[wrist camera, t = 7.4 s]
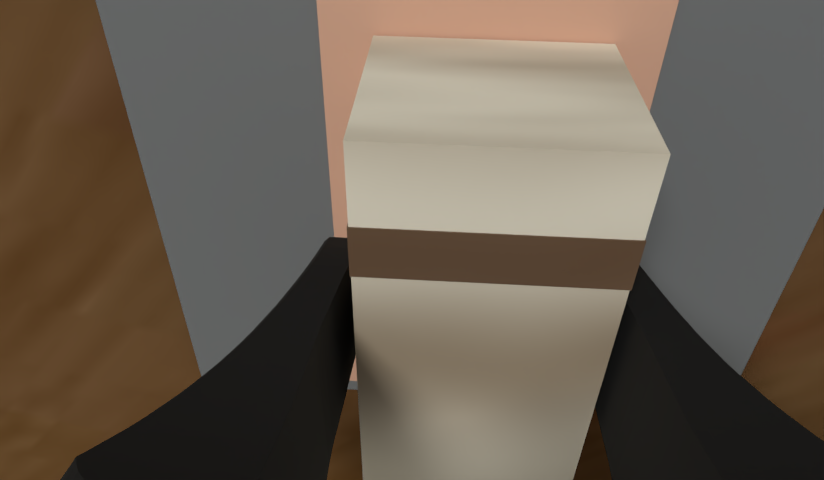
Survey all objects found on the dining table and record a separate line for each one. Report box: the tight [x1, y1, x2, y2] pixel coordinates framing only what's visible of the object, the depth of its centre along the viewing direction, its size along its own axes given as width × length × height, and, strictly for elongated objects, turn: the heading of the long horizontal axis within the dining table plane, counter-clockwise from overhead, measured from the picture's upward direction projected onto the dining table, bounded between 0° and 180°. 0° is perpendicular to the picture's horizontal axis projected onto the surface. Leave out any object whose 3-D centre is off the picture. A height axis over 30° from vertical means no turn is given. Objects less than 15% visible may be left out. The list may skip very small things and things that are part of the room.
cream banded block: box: [343, 35, 671, 480], centre depth 13 cm, size 9×4×4 cm, turn 0°
